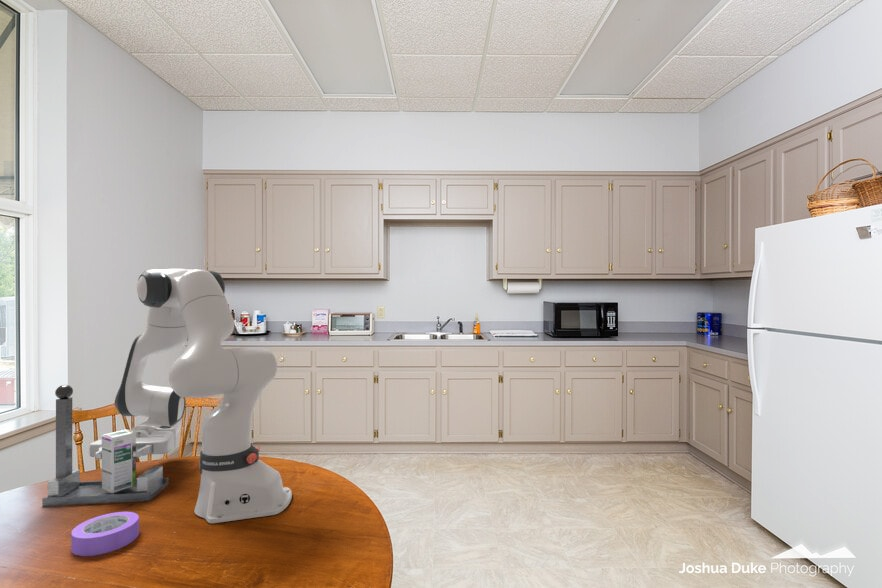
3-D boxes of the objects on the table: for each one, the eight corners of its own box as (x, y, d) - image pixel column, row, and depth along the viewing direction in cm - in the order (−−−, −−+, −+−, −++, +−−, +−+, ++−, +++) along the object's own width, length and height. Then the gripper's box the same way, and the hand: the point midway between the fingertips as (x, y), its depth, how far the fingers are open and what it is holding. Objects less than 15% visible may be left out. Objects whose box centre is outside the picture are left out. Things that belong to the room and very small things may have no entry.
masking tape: (72, 539, 99) (72, 521, 99) (136, 522, 106) (136, 506, 106) (70, 564, 90) (70, 544, 90) (141, 544, 97) (141, 526, 97)
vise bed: (168, 484, 127) (168, 464, 127) (149, 501, 117) (149, 478, 117) (70, 489, 124) (70, 468, 124) (42, 506, 114) (42, 483, 114)
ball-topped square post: (81, 485, 123) (81, 382, 123) (60, 498, 115) (60, 387, 115) (67, 486, 123) (67, 382, 123) (45, 499, 115) (45, 388, 115)
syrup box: (112, 494, 117) (112, 437, 117) (100, 489, 120) (101, 433, 120) (136, 486, 122) (136, 431, 122) (125, 481, 125) (125, 428, 125)
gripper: (106, 429, 132) (73, 445, 119) (181, 426, 135) (157, 441, 121) (106, 451, 132) (73, 469, 119) (181, 448, 135) (158, 465, 121)
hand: (117, 455), depth 120 cm, fingers closed on syrup box, 8 cm apart
